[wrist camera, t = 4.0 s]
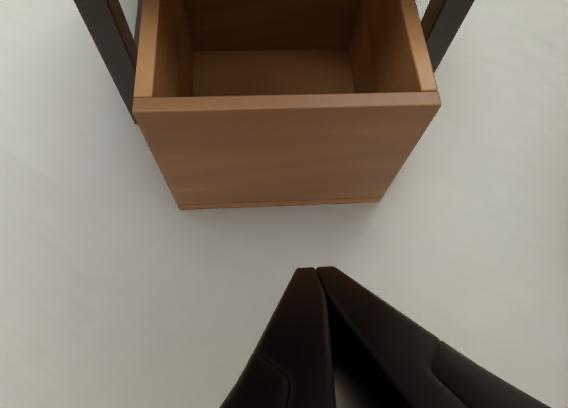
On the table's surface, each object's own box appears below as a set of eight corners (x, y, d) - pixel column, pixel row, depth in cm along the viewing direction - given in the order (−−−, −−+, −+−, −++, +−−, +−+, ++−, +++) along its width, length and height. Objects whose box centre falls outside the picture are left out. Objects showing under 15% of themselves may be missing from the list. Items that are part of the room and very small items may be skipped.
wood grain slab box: (379, 202, 21) (442, 105, 14) (178, 210, 20) (131, 112, 13) (354, 49, 25) (392, -91, 18) (185, 51, 24) (151, -93, 17)
